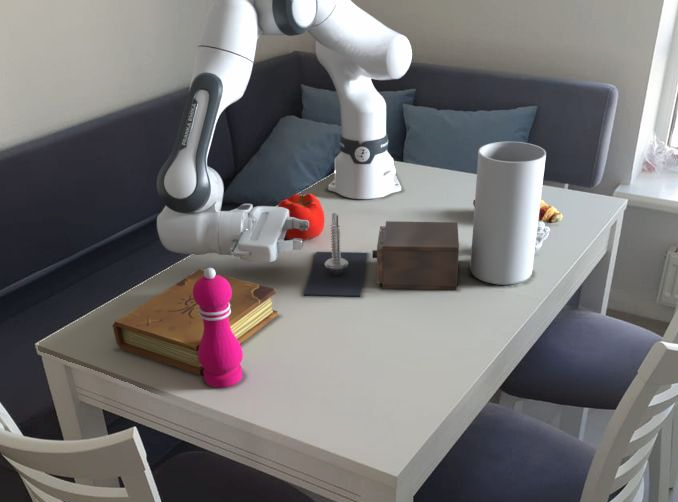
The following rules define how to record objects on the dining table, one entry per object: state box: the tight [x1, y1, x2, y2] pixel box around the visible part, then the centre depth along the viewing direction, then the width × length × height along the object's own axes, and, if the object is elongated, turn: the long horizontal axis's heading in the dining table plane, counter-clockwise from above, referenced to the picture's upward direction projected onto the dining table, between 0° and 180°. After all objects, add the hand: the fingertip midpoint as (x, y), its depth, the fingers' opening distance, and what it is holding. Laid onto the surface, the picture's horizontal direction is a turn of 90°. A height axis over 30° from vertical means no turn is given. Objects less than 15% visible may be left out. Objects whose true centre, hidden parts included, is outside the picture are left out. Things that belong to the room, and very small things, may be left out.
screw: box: [325, 212, 348, 275], centre depth 161 cm, size 13×5×5 cm
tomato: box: [277, 192, 326, 241], centre depth 179 cm, size 11×12×9 cm
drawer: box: [371, 225, 386, 284], centre depth 161 cm, size 15×11×7 cm
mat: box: [304, 251, 368, 298], centre depth 165 cm, size 20×11×1 cm, turn 175°
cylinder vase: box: [469, 141, 547, 286], centre depth 157 cm, size 12×12×25 cm
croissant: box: [472, 198, 564, 224], centre depth 186 cm, size 21×10×8 cm, turn 68°
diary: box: [112, 269, 278, 376], centre depth 144 cm, size 23×19×6 cm
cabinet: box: [382, 220, 460, 291], centre depth 161 cm, size 15×13×9 cm
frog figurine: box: [534, 221, 551, 253], centre depth 170 cm, size 6×7×7 cm
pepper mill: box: [193, 267, 244, 389], centre depth 127 cm, size 7×7×20 cm
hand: (305, 234), depth 160 cm, fingers open, 8 cm apart
